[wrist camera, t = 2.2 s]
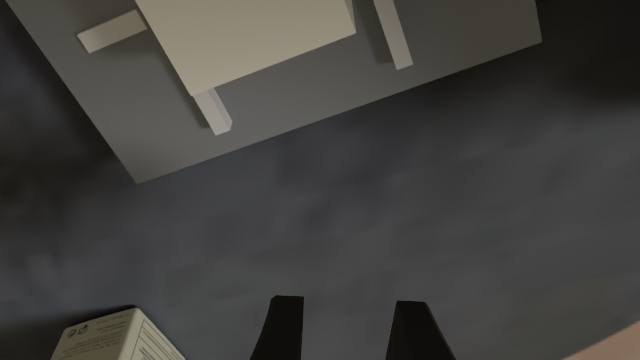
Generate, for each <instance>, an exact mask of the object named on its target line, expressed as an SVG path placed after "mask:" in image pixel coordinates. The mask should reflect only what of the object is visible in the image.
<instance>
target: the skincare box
mask: <svg viewBox="0 0 640 360" xmlns="http://www.w3.org/2000/svg"><path fill="white" fill-rule="evenodd" d="M51 360H185V358H184V357H183V356H182V355H181V354H180V353H179V352H178V351H177V350H176V348H175V347H174V346H173V345H172V344H171V343H170V342H169V341H168V339H167V338H166V337H165V336H164V335H163V334H162V333H161V332H160V331H159V330H158V329H157V327H156V326H155V325H154V324H153V323H152V322H151V321H150V320H149V319H148V318H147V317H146V316H145V315H144V314H143V313H142V311H141V310H140V309H138V308H132V309H129V310H125V311H121V312H118V313H114V314H110V315H107V316H103V317H100V318H97V319H93V320H90V321H87V322H83V323H81V324H77V325H75V326H72V327H69V328H66V329H65V330H64V332H63V334H62V336H61V338H60V341H59V343H58V345H57V347H56V349H55V351H54V353H53V355H52V358H51Z"/></svg>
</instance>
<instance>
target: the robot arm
mask: <svg viewBox="0 0 640 360" xmlns="http://www.w3.org/2000/svg"><path fill="white" fill-rule="evenodd" d="M303 304H304V297H301V296H278V295H276V296H275V297H273V298H272V299H271V302H270V306H269V310H268V314H267V317H266V320H265V323H264V326H263V329H262V332H261V334H260V337H259V339H258V342H257V344H256V347H255V349H254V351H253V354H252V356H251V358H250V360H301V347H302V330H303ZM385 360H456V358H455V357H454V355H453V353H452V351H451V349H450V348H449V346H448V344H447V342H446V340H445V339H444V337H443V335H442V333H441V331H440V329H439V327H438V325H437V323H436V321H435V319H434V317H433V315H432V313H431V311H430V309H429V306H428V305H427V304H426V303H425V302H416V301H397V303H396V308H395V313H394V318H393V323H392V328H391V334H390V339H389V344H388V349H387V354H386V359H385Z"/></svg>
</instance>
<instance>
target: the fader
mask: <svg viewBox="0 0 640 360" xmlns="http://www.w3.org/2000/svg"><path fill="white" fill-rule="evenodd" d="M135 1H136V3H137V5H138V6H139V8H140V10H141V11H142V13H143V15H144V17H145V18H146V20H147V22H148V23H149V25H150V27H151V29H152V30H153V32H154V34H155V35H156V37H157V39H158V41H159V42H160V44H161V46H162V47H163V49H164V51H165V53H166V54H167V56H168V58H169V59H170V61H171V63H172V65H173V66H174V68H175V70H176V71H177V73H178V75H179V77H180V78H181V80H182V82H183V83H184V85H185V87H186V89H187V90H188V92H189V94H190V95H191V96H193V95H196V94H198V93H201V92H203V91H206V90H209V89H211V88H214V87H217V86H219V85H222V84H224V83H227V82H230V81H232V80H235V79H237V78H240V77H243V76H245V75H248V74H251V73H253V72H256V71H258V70H261V69H264V68H266V67H269V66H271V65H274V64H277V63H279V62H282V61H285V60H287V59H290V58H292V57H295V56H298V55H300V54H303V53H305V52H308V51H311V50H313V49H316V48H319V47H321V46H324V45H326V44H329V43H332V42H334V41H337V40H339V39H342V38H345V37H347V36H350V35H353V34H355V33H356V27H355V20H354V14H353V7H352V0H135Z"/></svg>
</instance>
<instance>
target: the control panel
mask: <svg viewBox="0 0 640 360" xmlns="http://www.w3.org/2000/svg"><path fill="white" fill-rule="evenodd" d="M5 1H6V2H7V3H8V5H9V6H10V8H11V9H12V10H13V12H14V13H15V15H16V16H17V17H18V19H19V20H20V22H21V23H22V24H23V26H24V27H25V29H26V30H27V31H28V33H29V34H30V35H31V37H32V38H33V40H34V41H35V42H36V44H37V45H38V47H39V48H40V49H41V51H42V52H43V54H44V55H45V56H46V58H47V59H48V61H49V62H50V63H51V65H52V66H53V68H54V69H55V70H56V72H57V73H58V75H59V76H60V77H61V79H62V80H63V82H64V83H65V84H66V86H67V87H68V89H69V90H70V91H71V93H72V94H73V96H74V97H75V98H76V100H77V101H78V103H79V104H80V105H81V107H82V108H83V110H84V111H85V112H86V114H87V115H88V117H89V118H90V119H91V121H92V122H93V124H94V125H95V126H96V128H97V129H98V130H99V132H100V133H101V135H102V136H103V137H104V139H105V140H106V142H107V143H108V144H109V146H110V147H111V149H112V150H113V151H114V153H115V154H116V156H117V157H118V158H119V160H120V161H121V163H122V164H123V165H124V167H125V168H126V170H127V171H128V172H129V174H130V175H131V177H132V178H133V179H134V181H135V182H136V184H140V183H143V182H145V181H148V180H151V179H154V178H157V177H160V176H163V175H165V174H168V173H171V172H174V171H177V170H180V169H182V168H185V167H188V166H191V165H194V164H197V163H200V162H202V161H205V160H208V159H211V158H214V157H217V156H219V155H222V154H225V153H228V152H231V151H234V150H237V149H239V148H242V147H245V146H248V145H251V144H254V143H256V142H259V141H262V140H265V139H268V138H271V137H274V136H276V135H279V134H282V133H285V132H288V131H291V130H293V129H296V128H299V127H302V126H305V125H308V124H310V123H313V122H316V121H319V120H322V119H325V118H328V117H330V116H333V115H336V114H339V113H342V112H345V111H347V110H350V109H353V108H356V107H359V106H362V105H365V104H367V103H370V102H373V101H376V100H379V99H382V98H384V97H387V96H390V95H393V94H396V93H399V92H402V91H404V90H407V89H410V88H413V87H416V86H419V85H421V84H424V83H427V82H430V81H433V80H436V79H439V78H441V77H444V76H447V75H450V74H453V73H456V72H458V71H461V70H464V69H467V68H470V67H473V66H476V65H478V64H481V63H484V62H487V61H490V60H493V59H495V58H498V57H501V56H504V55H507V54H510V53H513V52H515V51H518V50H521V49H524V48H527V47H530V46H532V45H535V44H538V43H541V42H542V37H541V31H540V26H539V20H538V14H537V8H536V3H535V0H352V7H353V14H354V20H355V27H356V33H355V34H353V35H350V36H347V37H345V38H342V39H339V40H337V41H334V42H332V43H329V44H326V45H324V46H321V47H319V48H316V49H313V50H311V51H308V52H305V53H303V54H300V55H298V56H295V57H292V58H290V59H287V60H285V61H282V62H279V63H277V64H274V65H271V66H269V67H266V68H264V69H261V70H258V71H256V72H253V73H251V74H248V75H245V76H243V77H240V78H237V79H235V80H232V81H230V82H227V83H224V84H222V85H219V86H217V87H214V88H211V89H209V90H206V91H203V92H201V93H198V94H196V95H193V96H191V95H190V94H189V92H188V90H187V89H186V87H185V85H184V83H183V82H182V80H181V78H180V77H179V75H178V73H177V71H176V70H175V68H174V66H173V65H172V63H171V61H170V59H169V58H168V56H167V54H166V53H165V51H164V49H163V47H162V46H161V44H160V42H159V41H158V39H157V37H156V35H155V34H154V32H153V30H152V29H151V27H150V25H149V23H148V22H147V20H146V18H145V17H144V15H143V13H142V11H141V10H140V8H139V6H138V5H137V3H136V1H135V0H5Z"/></svg>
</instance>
